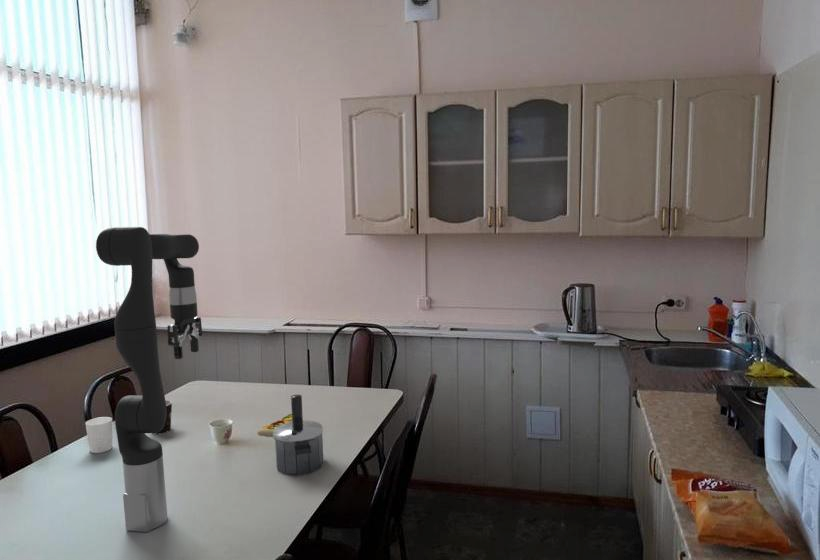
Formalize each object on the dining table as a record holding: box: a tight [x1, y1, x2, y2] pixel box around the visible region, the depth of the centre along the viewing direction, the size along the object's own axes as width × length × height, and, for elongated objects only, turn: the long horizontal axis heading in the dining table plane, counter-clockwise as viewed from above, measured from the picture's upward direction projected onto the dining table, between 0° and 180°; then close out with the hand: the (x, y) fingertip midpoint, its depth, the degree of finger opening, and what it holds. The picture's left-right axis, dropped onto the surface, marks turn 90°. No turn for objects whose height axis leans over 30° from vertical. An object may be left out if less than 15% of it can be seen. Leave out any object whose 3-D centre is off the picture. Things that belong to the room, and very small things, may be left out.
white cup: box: [85, 416, 113, 454], centre depth 197 cm, size 8×8×10 cm
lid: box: [272, 394, 324, 444], centre depth 180 cm, size 15×15×12 cm
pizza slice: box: [257, 413, 292, 437], centre depth 215 cm, size 16×21×3 cm
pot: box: [274, 434, 325, 476], centre depth 181 cm, size 20×14×10 cm
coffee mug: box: [156, 399, 173, 435], centre depth 215 cm, size 12×9×10 cm
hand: (187, 355), depth 176 cm, fingers open, 8 cm apart
